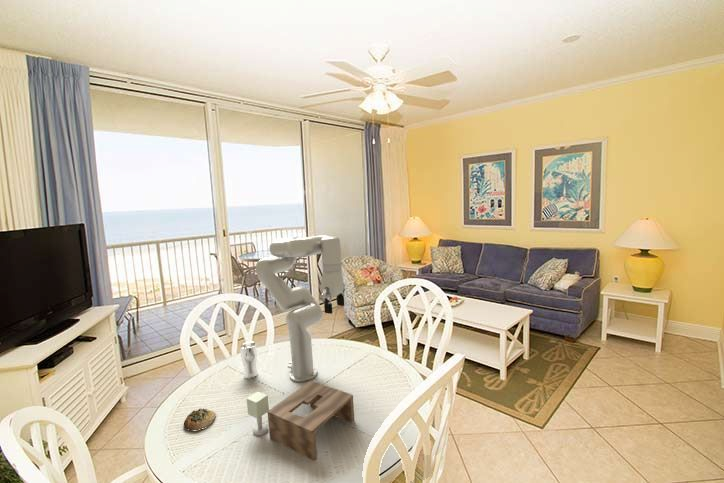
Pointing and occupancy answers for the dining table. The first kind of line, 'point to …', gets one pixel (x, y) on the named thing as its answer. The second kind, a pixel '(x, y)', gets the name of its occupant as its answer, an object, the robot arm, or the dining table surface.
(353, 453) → the dining table surface
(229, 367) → the dining table surface
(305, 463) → the dining table surface
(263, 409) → the peg
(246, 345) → the marbled vase
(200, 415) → the bread roll
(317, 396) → the keyhole shelf
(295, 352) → the robot arm
